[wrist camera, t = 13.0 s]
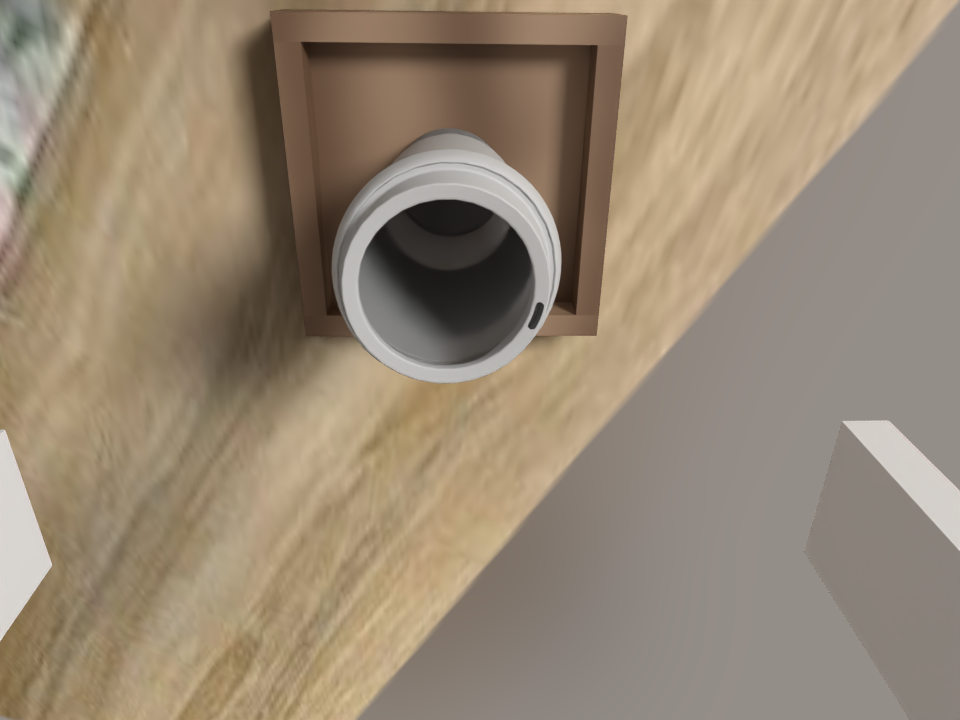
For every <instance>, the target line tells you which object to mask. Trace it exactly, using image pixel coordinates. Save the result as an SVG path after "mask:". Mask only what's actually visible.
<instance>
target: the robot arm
mask: <svg viewBox="0 0 960 720" xmlns="http://www.w3.org/2000/svg"><path fill="white" fill-rule="evenodd" d="M804 553H805V554H806V556H807V557H808V559H809V560H810V562H811V564H812V565H813V567H814V569H815V570H816V572H817V573H818V575H819V576H820V578H821V580H822V581H823V583H824V584H825V586H826V588H827V589H828V591H829V592H830V594H831V596H832V597H833V599H834V600H835V602H836V603H837V605H838V607H839V608H840V610H841V611H842V613H843V615H844V616H845V618H846V619H847V621H848V623H849V624H850V626H851V627H852V629H853V631H854V632H855V634H856V635H857V637H858V638H859V640H860V642H861V643H862V645H863V647H864V648H865V650H866V651H867V653H868V654H869V656H870V658H871V659H872V661H873V662H874V664H875V666H876V667H877V669H878V670H879V672H880V674H881V675H882V677H883V678H884V680H885V681H886V683H887V685H888V686H889V688H890V690H891V691H892V693H893V694H894V696H895V697H896V699H897V701H898V702H899V704H900V705H901V707H902V709H903V710H904V712H905V713H906V715H907V717H908V718H909V720H960V491H959V490H958V489H957V488H956V487H955V486H954V485H953V484H952V483H951V482H950V481H949V480H948V479H947V478H946V477H945V476H944V475H943V474H942V473H941V472H940V471H939V470H938V469H937V468H936V467H935V466H934V465H933V464H932V463H931V462H930V461H929V460H928V459H927V458H926V457H925V456H924V455H923V454H922V453H921V452H920V451H919V450H918V449H917V448H916V447H915V446H914V445H913V444H912V443H911V442H909V440H907V438H906V437H905V436H904V435H902V433H901V432H900V431H899V430H897V428H896V427H894V426H893V425H892V424H891V423H890V422H889V421H842V423H841V426H840V430H839V433H838V437H837V440H836V444H835V447H834V451H833V454H832V458H831V461H830V464H829V468H828V472H827V475H826V478H825V482H824V485H823V489H822V492H821V496H820V499H819V503H818V506H817V509H816V513H815V516H814V520H813V523H812V527H811V530H810V533H809V537H808V540H807V544H806V547H805V551H804ZM51 566H52V563H51V560H50V557H49V554H48V552H47V549H46V546H45V543H44V540H43V537H42V534H41V532H40V529H39V526H38V523H37V520H36V517H35V514H34V511H33V509H32V506H31V503H30V500H29V497H28V494H27V491H26V489H25V486H24V483H23V480H22V477H21V474H20V471H19V469H18V466H17V463H16V460H15V457H14V454H13V451H12V449H11V446H10V443H9V440H8V437H7V434H6V431H5V430H0V641H1V639H2V638H3V636H4V635H5V633H6V632H7V630H8V629H9V628H10V626H11V625H12V623H13V622H14V620H15V619H16V617H17V616H18V614H19V613H20V612H21V610H22V609H23V607H24V606H25V604H26V603H27V601H28V600H29V598H30V597H31V596H32V594H33V593H34V591H35V590H36V588H37V587H38V585H39V584H40V582H41V581H42V580H43V578H44V577H45V575H46V574H47V572H48V571H49V569H50V568H51Z"/></svg>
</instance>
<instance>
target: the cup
mask: <svg viewBox="0 0 960 720" xmlns="http://www.w3.org/2000/svg"><path fill="white" fill-rule="evenodd" d="M560 275H561V247H560V240H559V236H558V231H557V228H556V225H555V222H554V219H553V217H552V215H551V212H550V210H549V209H548V207H547V205H546V203H545V202H544V200H543V198H542V197H541V195H540V194H539V193H538V192H537V190H536V189H535V188H534V187H533V185H532V184H531V183H530V182H529V181H528V180H526V179H525V178H524V177H523V176H522V175H521V174H520V173H518V172H517V171H516V170H514V169H513V168H511V167H510V166H508V165H507V164H505V162H504V161H503V159H502V158H501V157H500V156H499V155H498V154H497V153H496V152H495V151H494V150H493V149H492V148H491V147H490V146H489V145H488V144H487V143H486V142H485V141H483V140H482V139H481V138H479V137H478V136H476V135H474V134H472V133H470V132H467V131H464V130H460V129H453V128H444V129H438V130H433V131H431V132H428V133H426V134H424V135H422V136H420V137H419V138H417V139H416V140H415V141H414V142H412V143H411V144H410V145H409V147H408V148H407V149H405V150H404V151H403V152H402V153H401V154H400V155H399V156H398V157H397V158H396V159H395V161H394V162H393V163H392V165H390V166H389V167H387V168H386V169H384V170H383V171H381V172H380V173H379V174H377V175H376V176H375V177H374V178H372V179H371V180H370V181H369V182H368V183H367V184H366V185H365V186H364V187H363V188H362V189H361V190H360V192H359V193H358V194H357V195H356V197H355V198H354V199H353V201H352V202H351V204H350V205H349V207H348V209H347V211H346V212H345V214H344V216H343V218H342V221H341V223H340V226H339V228H338V231H337V234H336V238H335V242H334V247H333V254H332V280H333V287H334V292H335V296H336V300H337V303H338V307H339V310H340V312H341V314H342V316H343V318H344V320H345V322H346V324H347V326H348V328H349V330H350V331H351V333H352V334H353V335H354V337H355V338H356V339H357V341H358V342H359V343H360V344H361V346H362V347H363V348H364V349H365V350H366V351H367V352H368V353H369V354H370V355H372V356H373V357H374V358H375V359H377V360H378V361H379V362H381V363H382V364H384V365H386V366H387V367H389V368H390V369H392V370H394V371H396V372H398V373H400V374H402V375H405V376H407V377H410V378H413V379H416V380H420V381H425V382H432V383H459V382H465V381H470V380H474V379H477V378H480V377H483V376H486V375H488V374H491V373H493V372H495V371H496V370H498V369H500V368H502V367H503V366H505V365H506V364H508V363H509V362H511V361H512V360H513V359H514V358H515V357H517V356H518V355H519V354H520V353H521V352H522V351H523V350H524V349H525V348H526V346H527V345H528V344H529V343H530V342H531V341H532V339H533V338H534V337H535V335H536V334H537V333H538V331H539V330H540V329H541V327H542V326H543V324H544V322H545V320H546V318H547V316H548V314H549V312H550V310H551V308H552V306H553V303H554V300H555V297H556V294H557V290H558V287H559V281H560Z"/></svg>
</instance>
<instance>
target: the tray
mask: <svg viewBox="0 0 960 720" xmlns="http://www.w3.org/2000/svg"><path fill="white" fill-rule="evenodd" d="M270 16H271V25H272V34H273V43H274V52H275V61H276V70H277V79H278V88H279V97H280V106H281V115H282V124H283V133H284V142H285V151H286V160H287V169H288V178H289V188H290V197H291V206H292V215H293V224H294V233H295V242H296V251H297V260H298V269H299V278H300V287H301V296H302V305H303V314H304V323H305V332H306V336H354V335H353V334H352V333H351V331H350V330H349V328H348V326H347V324H346V322H345V320H344V318H343V316H342V314H341V312H340V310H339V307H338V303H337V300H336V296H335V292H334V287H333V280H332V254H333V247H334V242H335V238H336V234H337V231H338V228H339V226H340V223H341V221H342V218H343V216H344V214H345V212H346V211H347V209H348V207H349V205H350V204H351V202H352V201H353V199H354V198H355V197H356V195H357V194H358V193H359V192H360V190H361V189H362V188H363V187H364V186H365V185H366V184H367V183H368V182H369V181H370V180H371V179H372V178H374V177H375V176H376V175H377V174H379V173H380V172H381V171H383V170H384V169H386V168H387V167H389V166H390V165H392V163H393V162H394V161H395V159H396V158H397V157H398V156H399V155H400V154H401V153H402V152H403V151H404V150H405V149H407V148H408V147H409V145H410V144H411V143H412V142H414V141H415V140H416V139H417V138H419V137H420V136H422V135H424V134H426V133H428V132H431V131H433V130H438V129H444V128H453V129H460V130H464V131H467V132H470V133H472V134H474V135H476V136H478V137H479V138H481V139H482V140H483V141H485V142H486V143H487V144H488V145H489V146H490V147H491V148H492V149H493V150H494V151H495V152H496V153H497V154H498V155H499V156H500V157H501V158H502V159H503V161H504V162H505V164H507V165H508V166H510V167H511V168H513V169H514V170H516V171H517V172H518V173H520V174H521V175H522V176H523V177H524V178H525V179H526V180H528V181H529V182H530V183H531V184H532V185H533V187H534V188H535V189H536V190H537V192H538V193H539V194H540V195H541V197H542V198H543V200H544V202H545V203H546V205H547V207H548V209H549V210H550V212H551V215H552V217H553V219H554V222H555V225H556V228H557V231H558V236H559V240H560V247H561V275H560V281H559V287H558V290H557V294H556V297H555V300H554V303H553V306H552V308H551V310H550V312H549V314H548V316H547V318H546V320H545V322H544V324H543V326H542V327H541V329H540V330H539V331H538V333H537V334H536V335H535V336H597V326H598V316H599V305H600V295H601V285H602V274H603V264H604V254H605V243H606V233H607V222H608V212H609V202H610V191H611V181H612V171H613V160H614V150H615V139H616V129H617V119H618V108H619V98H620V88H621V77H622V67H623V57H624V46H625V36H626V25H627V16H626V15H620V14H612V13H532V12H451V11H370V10H290V9H284V10H276V11H270Z"/></svg>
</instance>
